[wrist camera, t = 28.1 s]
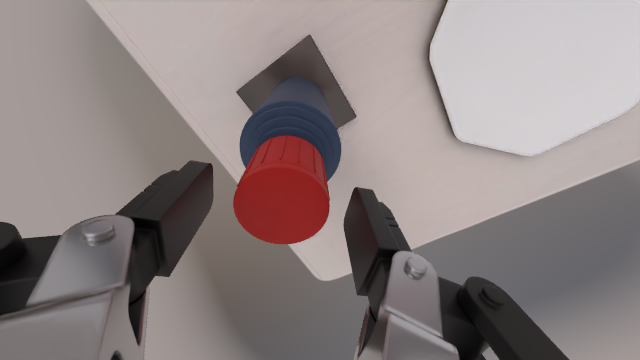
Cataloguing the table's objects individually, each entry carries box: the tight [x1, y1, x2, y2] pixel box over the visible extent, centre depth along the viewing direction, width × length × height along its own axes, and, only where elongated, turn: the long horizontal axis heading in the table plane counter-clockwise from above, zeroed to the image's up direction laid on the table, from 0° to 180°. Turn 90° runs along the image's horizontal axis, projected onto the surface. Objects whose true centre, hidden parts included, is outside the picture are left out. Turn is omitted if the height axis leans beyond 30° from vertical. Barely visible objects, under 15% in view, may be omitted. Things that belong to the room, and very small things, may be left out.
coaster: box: [236, 35, 356, 129], centre depth 27 cm, size 10×10×1 cm
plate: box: [429, 0, 640, 157], centre depth 24 cm, size 28×28×2 cm
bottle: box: [240, 77, 341, 181], centre depth 18 cm, size 6×6×20 cm
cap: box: [233, 135, 330, 244], centre depth 11 cm, size 4×4×4 cm
